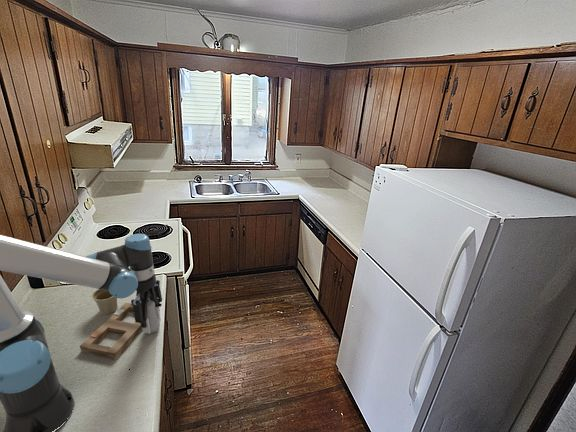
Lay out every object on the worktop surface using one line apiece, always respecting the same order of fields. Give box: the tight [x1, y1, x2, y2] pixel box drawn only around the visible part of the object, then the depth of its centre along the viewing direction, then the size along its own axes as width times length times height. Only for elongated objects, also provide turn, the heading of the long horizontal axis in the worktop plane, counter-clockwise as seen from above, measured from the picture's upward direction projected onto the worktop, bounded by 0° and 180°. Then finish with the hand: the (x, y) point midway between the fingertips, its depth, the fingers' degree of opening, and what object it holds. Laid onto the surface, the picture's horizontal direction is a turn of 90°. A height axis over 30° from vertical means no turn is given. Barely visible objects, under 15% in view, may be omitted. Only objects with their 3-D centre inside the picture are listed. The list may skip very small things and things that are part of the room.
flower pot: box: [91, 289, 118, 315], centre depth 125 cm, size 9×9×9 cm
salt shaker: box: [147, 299, 161, 335], centre depth 115 cm, size 6×6×13 cm
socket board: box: [79, 302, 143, 359], centre depth 116 cm, size 24×14×3 cm, turn 169°
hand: (152, 326), depth 117 cm, fingers closed on salt shaker, 6 cm apart
